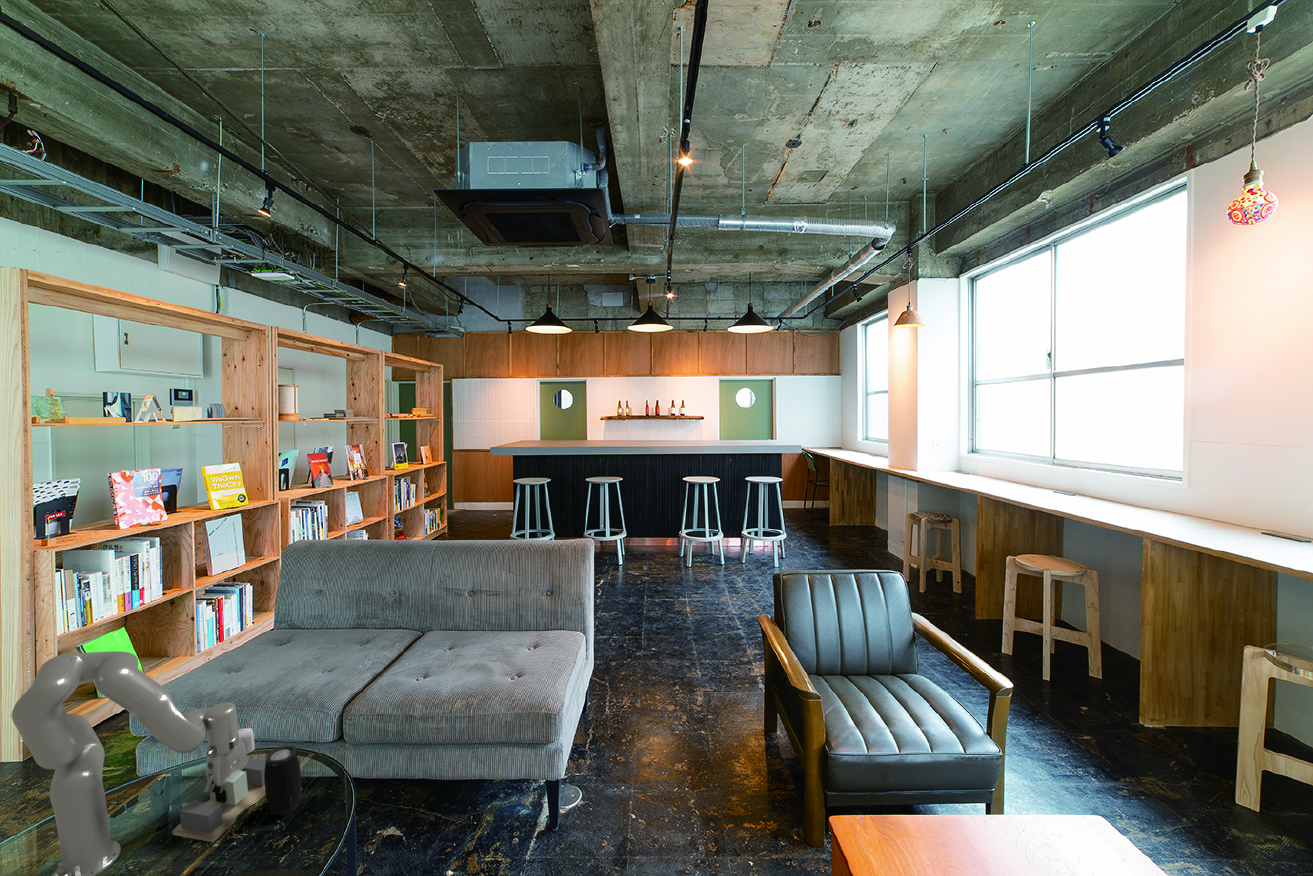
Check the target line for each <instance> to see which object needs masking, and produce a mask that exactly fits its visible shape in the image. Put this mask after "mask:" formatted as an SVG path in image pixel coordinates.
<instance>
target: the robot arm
mask: <svg viewBox="0 0 1313 876" xmlns="http://www.w3.org/2000/svg"><path fill="white" fill-rule="evenodd" d="M138 667H139V658H138V657H137V656H136V655H135V654H134V653H131V652H127V651H118V650H116V651H115V650H114V651H112V650H111V651H94V652H89V651H88V652H74V653H73V652H71V653H65V654H63V653H62V654H60V655H59V654H58V655H56V656H53V657H51V658H50V659H48V660H47V661H45V662H44V663H43V664H42V665H41V667H40V668H39V669H38V671H37V674H36V676H35V679H34V680H33V682H32V684H31V686H30V687H29V688H28V689H27V690H26V691H25V692H24V694H23V695H21V696H20V698H19V699H18V700H17V701H16V702H15V704H14V706H13V708H12V711H11V720H12V722H13V724H14V726H15V728H16V729H17V731H18V733H19V734H20V736H21V738H22V739H23V742H24V744H25V746H26V747H27V749H28V751H29V753H30V754H31V756H32V758H33V759H34V761H35V763H36V764H37V765H38V766H39V767H41V768H43V769H46V770H54V772H53V773H54V774H53V777H52V779H51V783H50V787H49V800H50V803H51V807H52V810H53V814H54V818H55V824H56V829H57V835H58V842H59V849H60V854H61V861H59V862H58V864H57V869H56V870H54V871H53V874H52V875H51V876H98V875H99V874H101V873H102V872H104V871H105V870H106V869H108V868H109V867H111V866H112V865H113V864H114V862H116V861H117V859H118V857H119V856H120V855H121V844H120V843H119V842H117V841H114V840H112V835H111V828H110V821H109V813H108V806H107V805H108V804H107V800H106V799H107V798H106V793H105V789H104V784H103V771H104V770H103V769H104V763H105V753H106V752H105V750H104V749H105V748H104V747H103V745H102V743H101V741H100V739H99V737H98V735H97V734H96V732H95V730H94V728H93V725H92V724H91V722H90V721H89V720H88V719H87V718H86V717H85V716H83V715H81V714H78V713H68V712H67V710H66V709H65V708H64V707H63V703H64V702H65V701H66V700H67V699H68V698H69V697H70V696H71V695H72V694H73V693H74V692H75V691H76V689H77V687H78V685H79V683H85V682H86V683H87V682H94V687H95V689H96V691H97V692H99V693H100V694H101V695H102V696H103V697H106V698H107V699H109V700H110V701H112V702H113V703H115V704H116V705H118V706H119V707H121V708H123V709H124V710H125V711H127V712H129V713H130V714H131V715H133V716H134V717H135V718H136V720H138V722H139V723H140V724H141V725H142V726H143V727H144V728H145V729H146V731H147V732H149V734H150V735H151V736H152V738H154V739H155V740H156V741H158V742H159V743H160V744H162V745H163V746H165V747H167V748H168V749H170V750H171V751H173V752H175V753H180V754H187V753H191V752H193V751H195V750H197V749H199V748H200V747H201V746H202V745H203V743H204V742H205V740H206V739H207V747H208V750H207V751H206V753H205V754H206V756H207V758H206V765H205V766H206V767H205V772H206V773H205V774H206V782H207V783H206V784H205V787H204V789H203V793H204V794H210V793H212V792H214V793H215V795H216V801H217V802H221V803H225V802H226V801H227V799H226V791H225V790H224V784H225V783H227V782H228V781H229V780H230V779H231V778H233V777H234V776H235V775H236V774H237V773H239V772H240V771H243V770H244V768H245V766H246V765H247V762H248V760H249V758H248V757H247V755H246V750H245V746H244V743H243V741H242V739H241V738H239V733H238V730H239V725H238V714H237V705H236V704H234V703H233V702H229V701H228V702H221V703H218V704H215V705H213V706H211V707H206V708H205V707H204V708H199V709H198V708H197V709H193V710H188V711H185V712H183V713H181V711H179V709H178V708H177V706H176V704H175V703H174V700H173V698H172V696H171V693H170V692H169V691H168V689H167V688H166V687H165V686H164V685H161V684H160V683H158V682H157V681H156V680H154V679H153V678H152V677H150V676H149V675H147V674H146V673H145V672H143V670H141V669H139V668H138ZM206 736H207V737H206ZM212 786H213V787H212ZM218 786H219V788H218Z"/></svg>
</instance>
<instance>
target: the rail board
mask: <svg viewBox="0 0 1313 876" xmlns="http://www.w3.org/2000/svg"><path fill="white" fill-rule="evenodd" d="M265 763H266V760H263V759H256V758H255V759H250V758H249V760H248V762H247V765H246V766H245V768H244V770H243V771H245V772H246V776H247V787H248V795H246V796H245V797H244V798H243V799H242V800H241V801H240V802H238V803H237V804H236V805H231V804H225V803H219V802H213V801H210V799H208V800H207V801H206V802H204V801H199V800H194V799H193V800H192V801H190V802H189V803H187V804H186V805H185V806H183V808H181V809H180V810H179V817H180V823H179V824H178V825H177V826H176V827H175V828H174V829H172V836H178V837H183V838H188V839H195V840H198V841H199V840H201V841H205V842H209V843H214V842H215V841H217V839H219V838H220V837H221V836H222V835H223V834H224V833H225V832H227V831H228V830H229V829H230V828H231V827H230V825H232V824H233V823H234V821H235V819H236V817H237V816H238V815H239V814H240V813H241V812H242V811H243V810H244V809H245V808H248V807H249V806H251V805H253V804H255V803H256V804H257V803H258V802H259V801H261V799H263V798H264V797H265V796H266V793H265V783H264V772H265ZM256 804H255V805H256ZM234 824H235V823H234ZM234 824H233V825H234ZM233 825H232V826H233ZM229 827H230V828H229Z"/></svg>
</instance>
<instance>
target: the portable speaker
mask: <svg viewBox="0 0 1313 876" xmlns="http://www.w3.org/2000/svg"><path fill="white" fill-rule="evenodd" d="M265 761H266V763H265V772H264V783H265V793H266V794H265V799H266V802H267V805H268V809H269V812H270V815H271V814H274V815H273V816H282V817H287V816H289V815H291V814H293V813H294V812H295V811H296V810H297V809H298V805H299V804H300V802H301V795H302V773H301V764H300V763H301V762H300V760H299V757H298V754H297V748H296V746H294V745H282V746H276V747H275V748H272V749H271V750H270V751H269V752H268V753H267V755H266V759H265ZM293 811H294V812H293ZM290 813H291V814H290Z"/></svg>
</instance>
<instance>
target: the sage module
mask: <svg viewBox="0 0 1313 876" xmlns="http://www.w3.org/2000/svg"><path fill="white" fill-rule="evenodd" d="M212 787H213V786H212ZM218 788H219V786H218ZM224 790H225V791H226V799H227V801H226V802H225V804H231V805H236V804H237V803H238V802H240V801H241V800H242V799H243V798H244V797H245V796H246V795H248V787H247V776H246V772H245V771H240V772H239V773H237V774H236V775H235V776H234V777H233V778H231V779H230V780H229V781H228V782H227V783H225V784H224ZM209 800H210V801H213V802H217V801H216V795H215V793H214V792H212V793H209ZM219 803H221V802H219Z"/></svg>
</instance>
